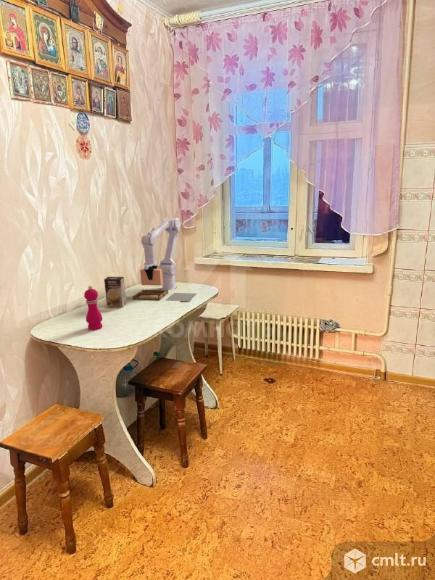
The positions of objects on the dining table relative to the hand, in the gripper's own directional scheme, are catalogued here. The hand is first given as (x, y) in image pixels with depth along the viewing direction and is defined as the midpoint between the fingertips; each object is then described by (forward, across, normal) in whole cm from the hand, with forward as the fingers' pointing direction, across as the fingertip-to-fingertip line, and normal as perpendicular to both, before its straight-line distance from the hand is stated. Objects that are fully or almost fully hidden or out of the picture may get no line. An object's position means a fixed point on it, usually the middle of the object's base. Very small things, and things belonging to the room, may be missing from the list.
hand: (151, 279), depth 230 cm
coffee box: (+10, +22, -12) cm, 28 cm away
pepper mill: (+10, +54, -7) cm, 56 cm away
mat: (+10, +2, +18) cm, 21 cm away
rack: (+10, +4, 0) cm, 11 cm away
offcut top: (+10, +7, 0) cm, 12 cm away
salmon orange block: (+3, 0, 0) cm, 3 cm away
